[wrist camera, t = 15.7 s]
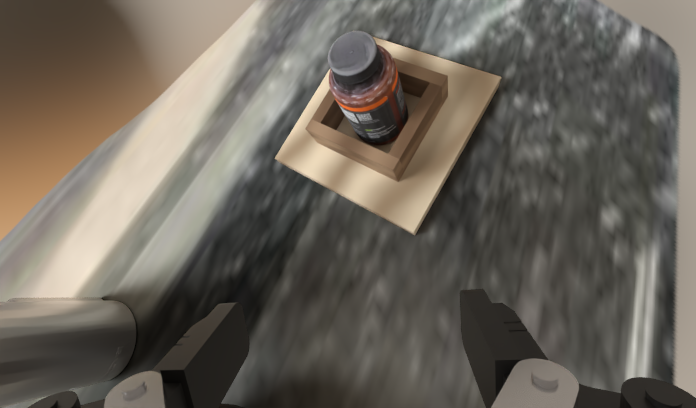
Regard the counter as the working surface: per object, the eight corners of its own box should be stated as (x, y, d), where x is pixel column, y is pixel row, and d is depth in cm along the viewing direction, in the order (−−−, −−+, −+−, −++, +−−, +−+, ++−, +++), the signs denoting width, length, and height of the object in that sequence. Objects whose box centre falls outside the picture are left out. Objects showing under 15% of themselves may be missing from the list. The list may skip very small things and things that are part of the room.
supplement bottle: (393, 87, 37) (369, 4, 26) (419, 128, 35) (405, 56, 24) (345, 115, 38) (305, 45, 27) (368, 157, 36) (333, 100, 25)
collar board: (280, 163, 40) (258, 146, 36) (356, 39, 42) (345, 7, 37) (414, 235, 34) (409, 225, 29) (499, 85, 35) (506, 53, 30)
